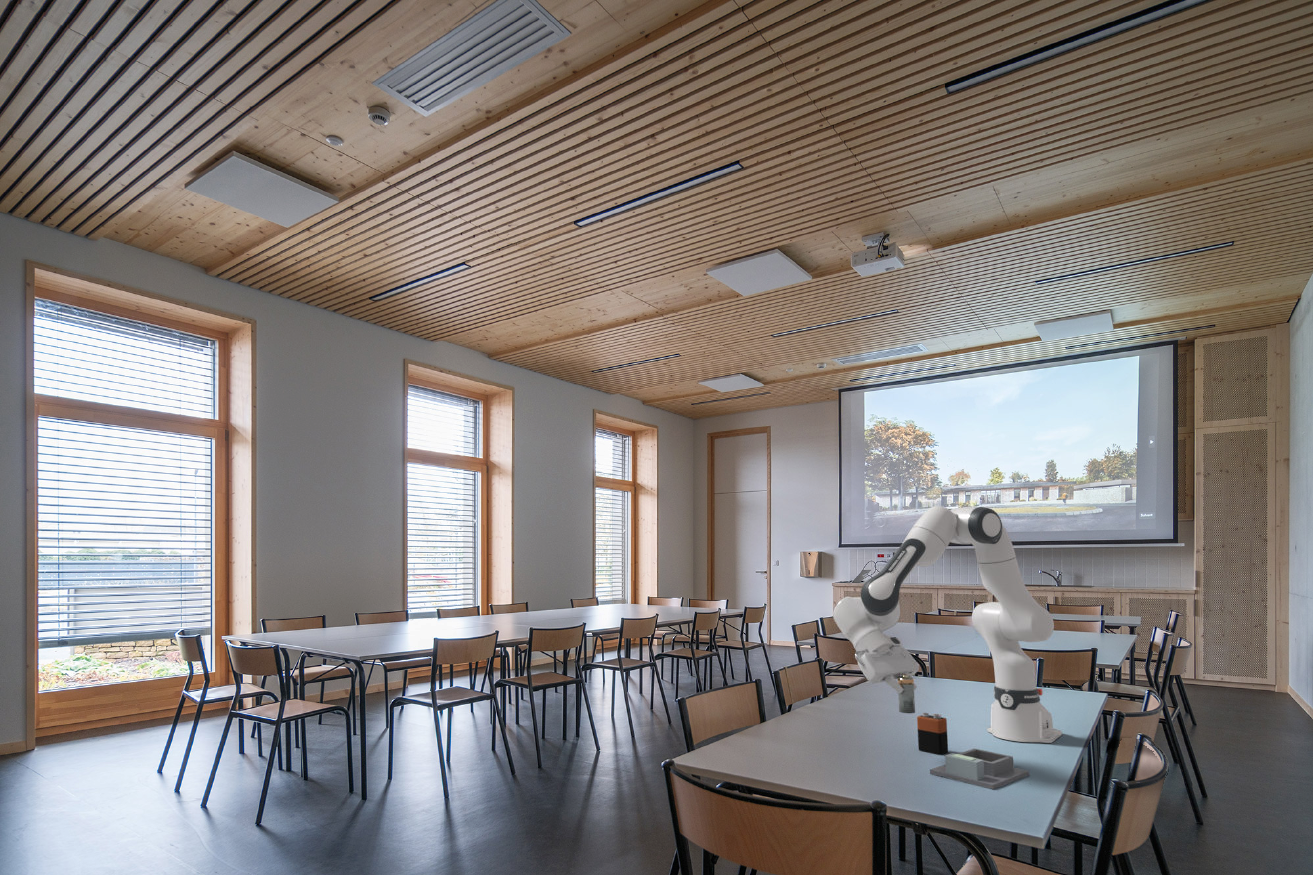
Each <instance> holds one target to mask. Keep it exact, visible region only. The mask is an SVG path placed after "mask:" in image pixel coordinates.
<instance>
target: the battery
mask: <svg viewBox="0 0 1313 875" xmlns="http://www.w3.org/2000/svg"><path fill="white" fill-rule="evenodd" d="M916 722H917V744H918V745H917V747H918V751H920V750H921V751H920V752H925V753H929V752H930V754H935V755H939V754H942V755H944V754H947V753H949V744H948V743H949V741H948V723H947V718H946V717H942V714H939V713H933V714H931V715H930V714H929V713H928V712H922V715H919V716H917V717H916Z"/></svg>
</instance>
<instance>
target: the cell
mask: <svg viewBox="0 0 1313 875" xmlns="http://www.w3.org/2000/svg"><path fill="white" fill-rule="evenodd" d="M897 682H898V683H899V684H902V685H903V687H904V688H905V691H904V692H903V693H900V694H898V693H897V694H898V712H900V713H902V714H915V713H916V707H915V706H916V705H915V703H916V702H915V690H914V683H915V679H914V677H913V676H912V677H909V676H908V675H902V677H898V679H897Z"/></svg>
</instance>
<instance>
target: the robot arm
mask: <svg viewBox="0 0 1313 875" xmlns="http://www.w3.org/2000/svg"><path fill="white" fill-rule="evenodd" d="M950 544H959V545H972V546H973V547H974V552H975V557H976V562H977V567H978V570H979V574H980V579H981V582H982V586H983V587H984V590H986V591H987V592H989V593H990V594H992V595H993V596H994V597H995V599H996V600H997V601H989V602H983V603H979V604H977V606H975V607H974V609H973V611H972V614H971V621H972V622H971V623H972V625H973V628H974V630H975V631H977V633H978V634H980V636H981V637H982V638H983V640H984V641H985V643H986V645H987V647H988V649H989V651H990V654H991V658H992V663H993V668H994V669H993V670H994V681H995V682H994V683H995V684H994V688H993V693H994V699H995V700H994V701H993V703H991V707H990V708H991V710H990V727H989V726H988V727H987V730H986V731H987V732H988V733H990V734H992V735H993V736H995V737H996V738H999V739H1003V740H1007V741H1011V742H1012V741H1013V742H1021V743H1044V744H1045V743H1046V744H1052V743H1054V741H1056V740H1057V739H1058V738H1059V737H1061V736H1062V735H1063V732H1062V730H1059V729H1056V728H1054V725H1053V724H1054V722H1053V716H1052V713H1051V712H1049V710H1048V709H1047V708H1046V707H1045V706H1044V705H1043V704H1042V703H1041V697H1042V696H1043V694H1044V693H1043V689H1042V688H1037V684H1036V668H1035V663H1034V661H1033V658H1031V657H1030V656H1029V655H1027V653H1025V652H1024V650H1023V649H1022V647H1021V645H1020V642H1025V643H1038V642H1044V641H1045V642H1046V641H1048V640H1049V639H1050V638H1051V636H1052V635H1053V633H1054V629H1055V623H1054V618H1053V616H1052V615H1051V613H1050V612H1049V611H1048V610H1047V609H1046V608H1044V607H1043V606H1042V605H1040V604H1039V603H1038V601H1037V600H1035V598H1034V597H1033V596H1032V595H1031V592H1030V591H1029V589H1027V587H1026V585H1025V583H1024V581H1023V580H1024V579H1023V578H1022V575H1021V570H1020V566H1019V564H1018V560H1017V556H1016V553H1015V548H1014V545H1013V542H1012V540H1011V537H1010V535H1009V532H1008V531H1007V529H1006V527H1005V526H1004V525H1003V522H1002V520H1001V517H1000V516H999V514H998V513H997V511H995V510H993V509H991V508H990V507H989V508H988V507H984V506H978V507H975V506H964V507H963V506H962V507H958V508H947V507H944V506H942V505H934V506H931V507H930V508H928V509H927V510H926V511H925V512H924V513H923V514H922V515H921V516H920V517H919V518H918V520H916V522H915V523H914V525H913V526H912V527H911V529H910V530H909V532H908V534H907V535H906V537H905V539H904V540H903V542H902V544H901V545H900V546H899V548H898V549H897V550H896V552H895V553H894V554H893V556H892V557H891V558H890V559H889V561H888V562H887V563H886V565H885V566H884V567H883V568H882V569H881V570H880V572H879V573H877V574H875V575H874V576H872V577H871V578H869V579H868V580H866V581H865V583H864V584H863V585H862V587H861V589H860V597H858V596H857V597H854V596H853V597H852V596H844V597H843V598H841V599H840V600H839V601H838V602H837V603H836V604H835V607H834V608H833V612H832V618H833V621H834V622H835V624H836V625H837V628H838V629H839V630H840V631H841V633H842V634H843V635H844V637H845V638H846V639H847V640H849V641H850V643H851V644H852V645H853V648H854V649H855V654H854V657H855V660H856V661H857V665H858V667H859V669H860V671H861V673H863V675H864V677H865V678H866V680H867V681H868V682H870V683H871V684H877V683H883V682H885V683H886V685H888V686H889V687H891V688H892V689H894V691H896V693H897V694H900V693H903V692H904V691H905V688H904V687H903V685H902V684H899V683H898V677H902V675H908V676H909V677H912V678H913V676H915V674H917V672H918V671H919V670H920V666H919V663H918V662H917V661H916V660H915V658H914V657H913V656H912V654H911V653H910V652H909V651H908V649H906V648H905V647H903V646H902V645H903V643H902V641H901V640H900V639H899V638H897V637H894V636H889V635H887V634H886V633H883V632H885V631H887V630H889V629H891V628H892V627H894V626H895V625H896V624H897V623H898V622H899V620H900V619H901V618H900V617H901V604H900V591H901V587H902V585H903V583H904V582H905V581H906V580H907V578H908V577H909V575H910V574H911V573H912V571H913V570H914V569H915V567H916V566H917V567H922V568H926V567H931V566H933V565H935V563H937V561H938V560H939V559H940V558H941V557H942V555H943V554H944V552H945V551H946V550H947V548H948V546H949V545H950ZM917 688H918V687H917V684H915V682H914V691H915V690H916V689H917ZM1040 696H1041V697H1040Z"/></svg>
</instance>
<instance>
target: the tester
mask: <svg viewBox="0 0 1313 875" xmlns="http://www.w3.org/2000/svg"><path fill="white" fill-rule="evenodd" d="M944 761H945V762H944V763H945V764H943V765H940V766H937V767H933V768H930V769H929V774H930V773H931V774H930V775H934V776H937V775H938V776H937V777H941V776H943V777H942V778H945V777H946V779H949V778H950V780H953V779H954V781H957V780H958V782H962V783H965V782H966V784H968V785H969V784H970V785H973V784H974V786H977V787H981V786H982V787H981V788H985V789H989V790H995V789H998V788H1001V787H1003V786H1006V785H1008V784H1011V783H1013V782H1016V781H1018V780H1020V779H1023V778H1026V777H1028V776H1030V771H1029V770H1026V769H1021V768H1017V767H1014V766H1015V765H1014V756H1011V755H1006V754H1002V753H998V752H992V751H988V750H984V749H980V748H972V749H969V750H965V751H963V752H959V753H954V752H952V753H949V754H946V755H945V756H944Z"/></svg>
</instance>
